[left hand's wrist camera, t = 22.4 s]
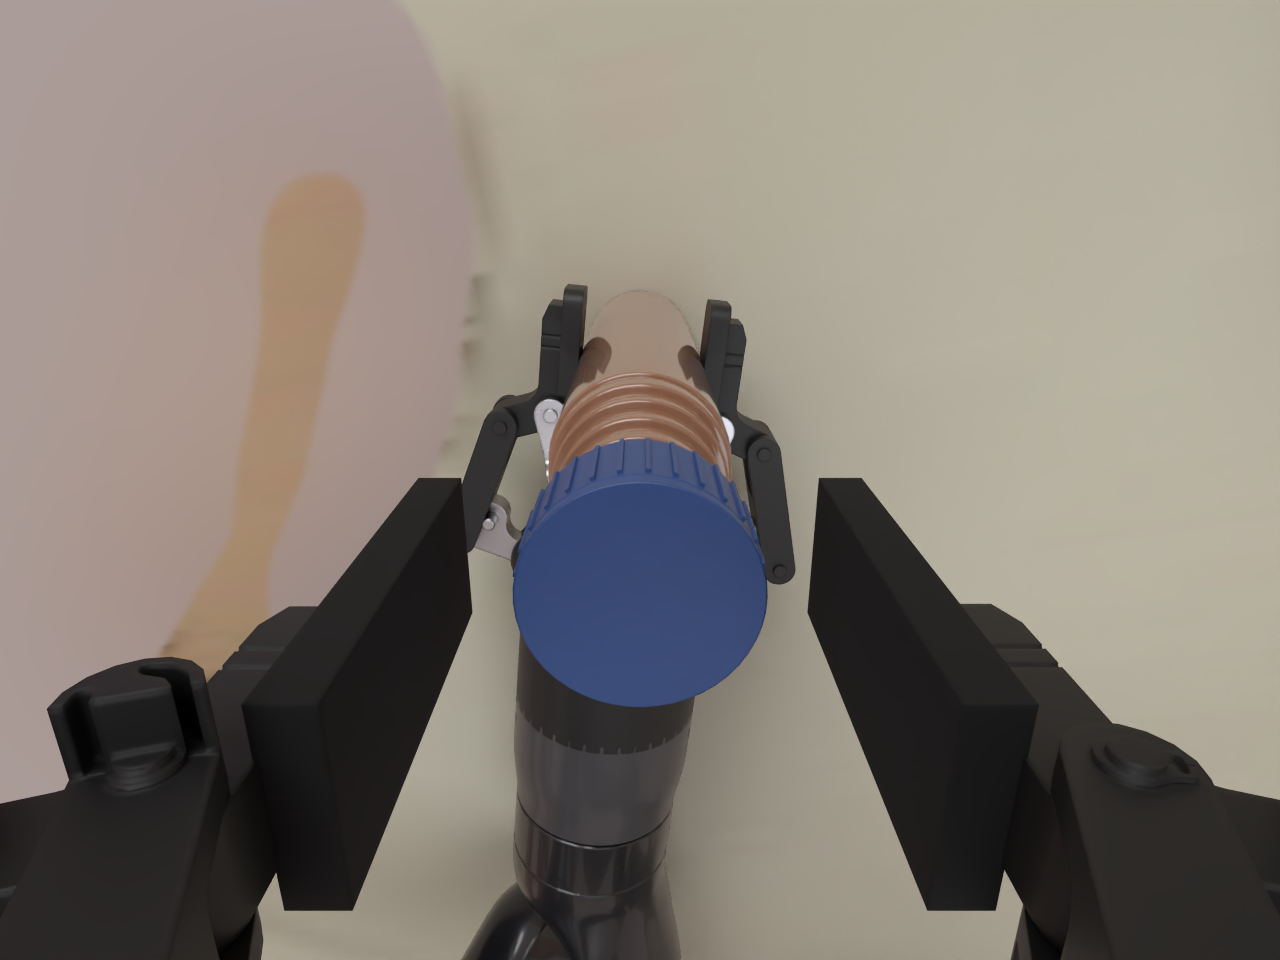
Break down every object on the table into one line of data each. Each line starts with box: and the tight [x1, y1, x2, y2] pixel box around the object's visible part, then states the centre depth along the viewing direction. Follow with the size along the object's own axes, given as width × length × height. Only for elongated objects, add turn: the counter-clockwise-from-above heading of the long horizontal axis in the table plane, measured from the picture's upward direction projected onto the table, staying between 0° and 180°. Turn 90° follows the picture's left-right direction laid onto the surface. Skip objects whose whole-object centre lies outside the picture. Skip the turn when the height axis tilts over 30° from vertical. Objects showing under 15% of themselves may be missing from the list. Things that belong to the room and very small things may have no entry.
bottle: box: [548, 291, 732, 483], centre depth 23 cm, size 4×4×23 cm
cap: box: [513, 438, 767, 707], centre depth 13 cm, size 4×4×2 cm
